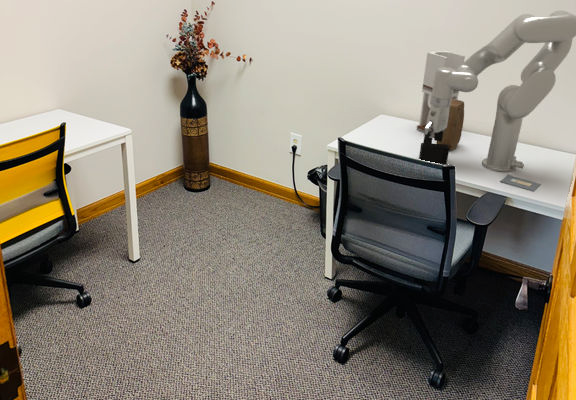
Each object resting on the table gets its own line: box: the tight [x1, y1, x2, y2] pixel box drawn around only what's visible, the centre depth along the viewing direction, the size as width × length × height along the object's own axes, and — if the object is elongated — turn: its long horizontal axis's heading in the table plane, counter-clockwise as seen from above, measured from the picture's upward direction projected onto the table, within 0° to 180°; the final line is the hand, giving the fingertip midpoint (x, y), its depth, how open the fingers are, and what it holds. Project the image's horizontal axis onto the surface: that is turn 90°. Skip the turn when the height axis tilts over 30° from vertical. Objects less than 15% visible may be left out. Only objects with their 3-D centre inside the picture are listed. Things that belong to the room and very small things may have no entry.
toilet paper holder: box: [416, 50, 466, 139], centre depth 240 cm, size 11×11×35 cm
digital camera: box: [418, 142, 450, 165], centre depth 215 cm, size 10×5×7 cm, turn 84°
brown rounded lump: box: [435, 99, 465, 151], centre depth 227 cm, size 11×8×20 cm
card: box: [499, 174, 542, 192], centre depth 199 cm, size 12×8×1 cm, turn 51°
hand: (432, 143), depth 213 cm, fingers open, 9 cm apart
